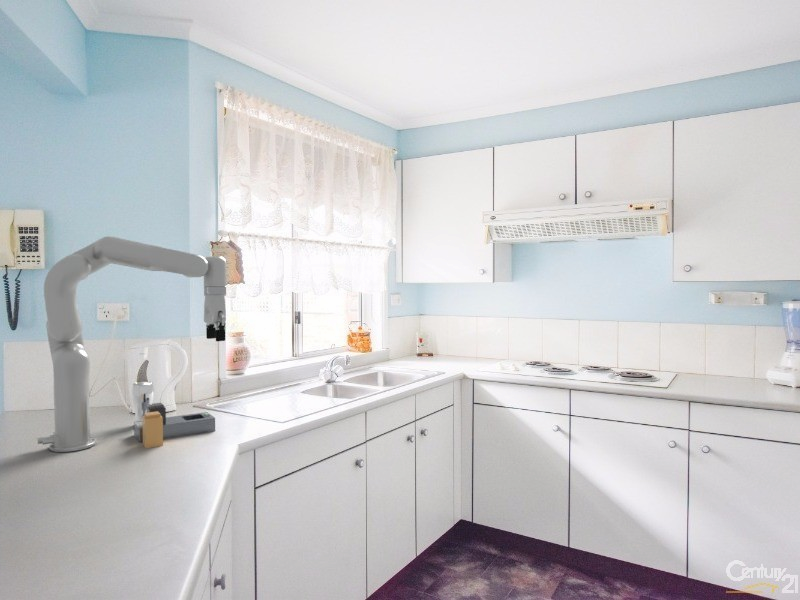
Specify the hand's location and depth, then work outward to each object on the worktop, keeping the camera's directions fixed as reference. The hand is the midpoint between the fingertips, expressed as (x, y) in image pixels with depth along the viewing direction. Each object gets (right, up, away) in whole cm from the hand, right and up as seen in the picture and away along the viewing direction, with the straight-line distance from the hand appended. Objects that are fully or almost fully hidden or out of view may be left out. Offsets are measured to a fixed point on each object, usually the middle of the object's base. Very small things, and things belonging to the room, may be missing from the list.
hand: (215, 339), depth 198 cm
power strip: (-11, -31, -8) cm, 34 cm away
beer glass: (-26, -31, +2) cm, 41 cm away
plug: (-13, -32, -22) cm, 40 cm away
